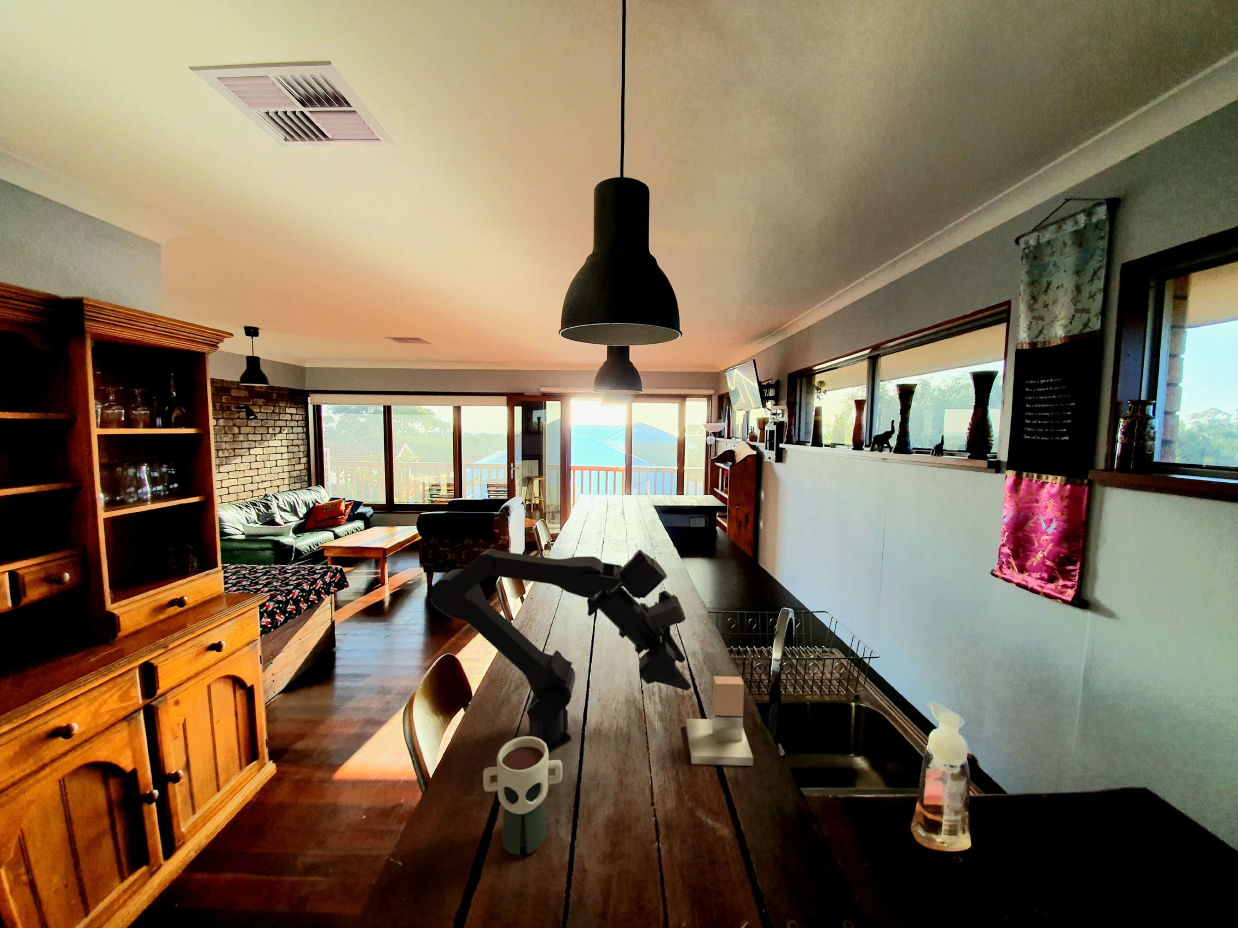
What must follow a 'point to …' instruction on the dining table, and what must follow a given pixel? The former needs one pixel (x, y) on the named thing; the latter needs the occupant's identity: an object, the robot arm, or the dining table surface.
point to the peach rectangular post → (728, 696)
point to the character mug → (523, 791)
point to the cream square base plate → (718, 741)
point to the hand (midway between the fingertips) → (686, 673)
